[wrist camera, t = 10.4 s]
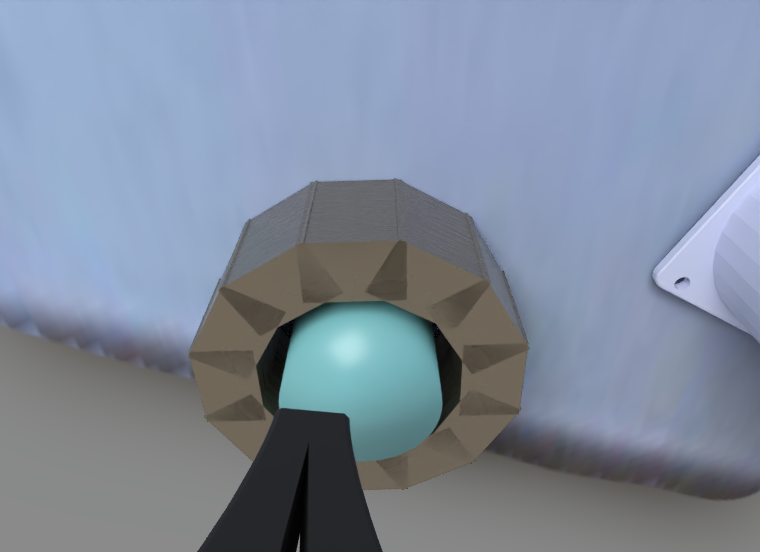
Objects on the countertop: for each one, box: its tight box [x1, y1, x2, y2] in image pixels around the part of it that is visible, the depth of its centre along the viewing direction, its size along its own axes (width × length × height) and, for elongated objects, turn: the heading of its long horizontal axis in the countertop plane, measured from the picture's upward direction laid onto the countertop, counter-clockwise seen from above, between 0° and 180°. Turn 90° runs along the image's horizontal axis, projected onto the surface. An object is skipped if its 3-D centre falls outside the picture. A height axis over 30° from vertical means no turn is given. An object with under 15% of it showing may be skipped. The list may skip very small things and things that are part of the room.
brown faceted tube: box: [188, 179, 529, 490], centre depth 20 cm, size 10×10×4 cm
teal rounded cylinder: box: [279, 301, 442, 462], centre depth 19 cm, size 5×5×5 cm
